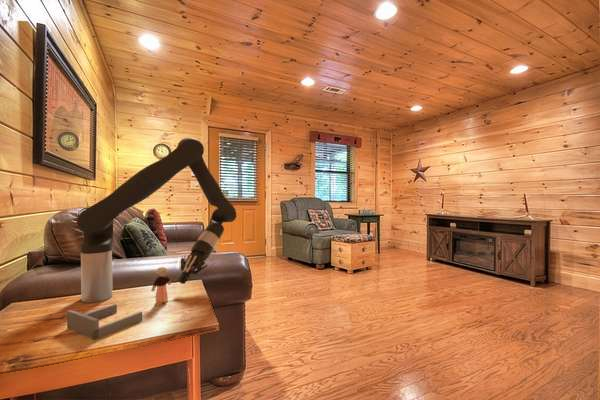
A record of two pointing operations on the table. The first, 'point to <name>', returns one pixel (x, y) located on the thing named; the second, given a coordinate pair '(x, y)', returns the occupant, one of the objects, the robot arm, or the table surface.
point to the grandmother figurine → (161, 286)
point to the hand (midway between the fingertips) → (181, 282)
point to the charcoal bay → (90, 322)
